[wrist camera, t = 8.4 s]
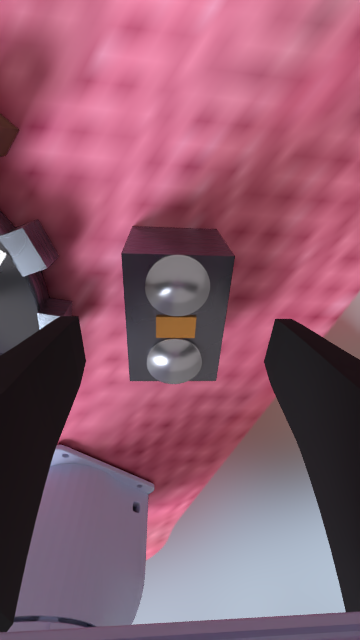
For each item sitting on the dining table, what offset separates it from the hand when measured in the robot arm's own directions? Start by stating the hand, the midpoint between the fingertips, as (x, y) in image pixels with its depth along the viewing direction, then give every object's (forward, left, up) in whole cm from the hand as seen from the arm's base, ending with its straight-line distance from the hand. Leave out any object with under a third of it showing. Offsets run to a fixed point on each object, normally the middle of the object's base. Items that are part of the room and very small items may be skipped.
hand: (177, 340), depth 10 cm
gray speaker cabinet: (0, 0, -5) cm, 5 cm away
